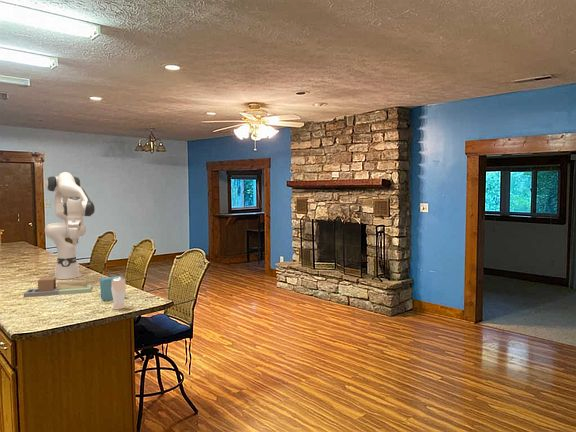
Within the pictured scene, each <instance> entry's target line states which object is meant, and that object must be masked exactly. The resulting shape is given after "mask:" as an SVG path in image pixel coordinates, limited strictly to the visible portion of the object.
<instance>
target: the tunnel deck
mask: <svg viewBox="0 0 576 432" xmlns="http://www.w3.org/2000/svg"><path fill="white" fill-rule="evenodd" d="M92 290H93V284H87V287H86V288H75V289H61V290H57V279H56V277H53V276H50V277H48V276H47V277H40V278H39V279H38V280H37V287H35V288H28V289H27V290H26V291H25V292H24V293H23V297H24V298H28V297H31V298H32V297H44V296H57V295H70V294H72V295H73V294H84V293H91V292H92Z"/></svg>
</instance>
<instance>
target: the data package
mask: <svg viewBox="0 0 576 432" xmlns="http://www.w3.org/2000/svg"><path fill="white" fill-rule="evenodd" d="M115 278H124V277H123V276H121V275H120V276H112V277H111V276H110V277H103V278H101V279H100V282H99V283H100V285H99V286H100V287H99V288H100V299H101V300H102V301H104V302H107V301H113V296H112V292H111V280H112V279H115Z"/></svg>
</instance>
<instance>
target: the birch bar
mask: <svg viewBox="0 0 576 432" xmlns="http://www.w3.org/2000/svg"><path fill="white" fill-rule="evenodd" d="M87 283H88V282H87V279H83V280H82V279H81V280H67V281H56V287H57V290H61V289H75V288H86V287H87V285H88V284H87Z"/></svg>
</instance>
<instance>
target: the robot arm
mask: <svg viewBox="0 0 576 432" xmlns="http://www.w3.org/2000/svg"><path fill="white" fill-rule="evenodd" d="M81 184H82V182H81V181H80V178H79V177H77V176H73V175H72V174H71V172H68V171H64V172H60V173H59V174H58V175H57V176H56V175H55V176H54V175H53V176H48V177H47V178H46V181H45V186H46V187H45V188H46V189H47V191H50V192H55V194H54V211H55V215H56V217H57V218H59V219H61V220H63V221H64V222H63V221H61V222H60V221H59V222H51V223H48V224H46V225H45V227H44V235H45V236H46V237H47V238H48V239H50V240H51V241H53V243H54V244H55V246H56V249H57V250H56V251H57V259H56V261H57V262H56V263H57V264H56V265H55V266H54V275H53V276H52V277H56V280H71V279H77V278H82V277H83V274H82V273H81V271H80V269H79V264H78V263H77V257H76V246H77V245H78V244H79V239H80V237H82V236H84V235H85V233H86V231H87V228H86V225H85V223H84V217H91V216H93V215H94V213H95V209H96V208H95V205H94V203H93V202H92V200H91V199H90V197H89V196H88V193H86V191H85V189H84V188H83V187H81V186H82V185H81ZM68 238H69V239H70V240H72V243H71V242H68V241H66V239H68Z"/></svg>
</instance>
